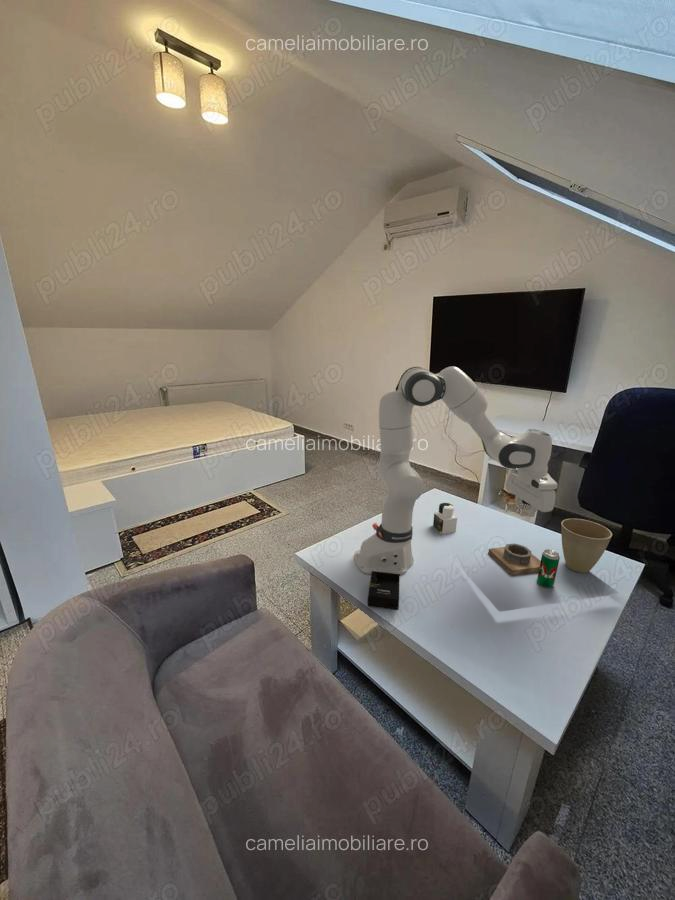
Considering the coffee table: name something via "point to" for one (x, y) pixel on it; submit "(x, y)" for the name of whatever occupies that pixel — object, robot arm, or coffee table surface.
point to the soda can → (548, 568)
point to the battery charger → (384, 590)
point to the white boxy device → (445, 519)
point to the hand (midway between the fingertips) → (524, 512)
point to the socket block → (515, 559)
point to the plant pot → (583, 543)
